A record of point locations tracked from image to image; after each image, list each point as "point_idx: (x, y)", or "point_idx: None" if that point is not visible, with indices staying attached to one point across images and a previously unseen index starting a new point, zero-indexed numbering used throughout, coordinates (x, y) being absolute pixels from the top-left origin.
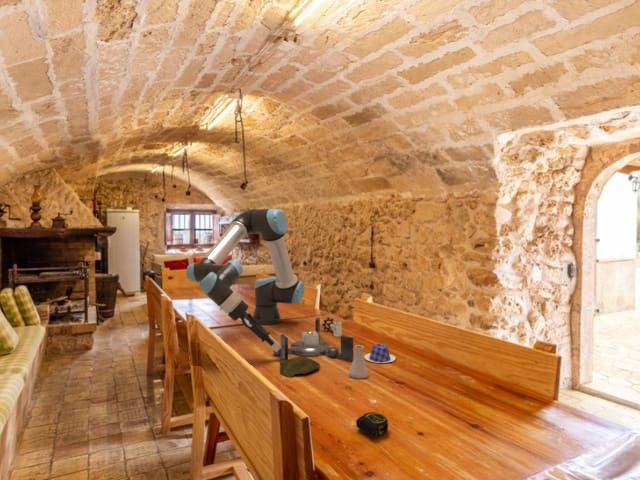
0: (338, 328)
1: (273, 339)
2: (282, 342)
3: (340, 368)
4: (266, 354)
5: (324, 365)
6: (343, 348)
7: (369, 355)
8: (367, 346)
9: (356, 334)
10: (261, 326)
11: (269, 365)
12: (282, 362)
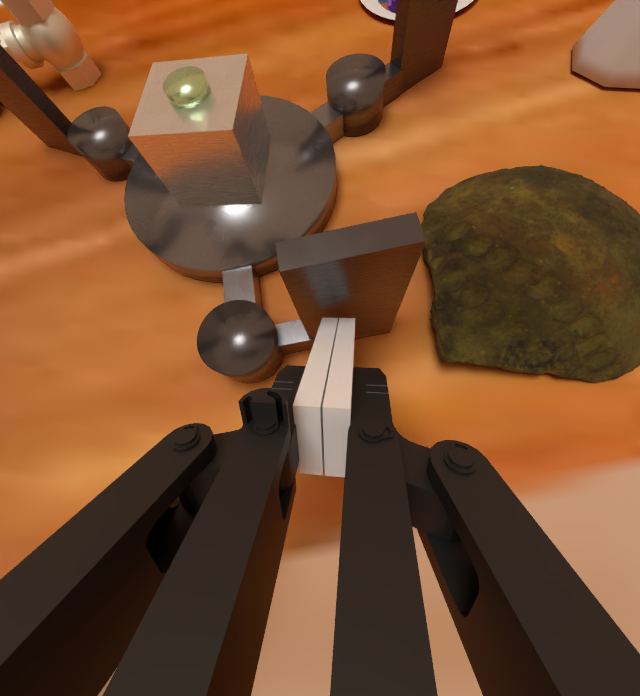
0: (65, 25)
1: (342, 364)
2: (344, 292)
3: (524, 109)
4: (221, 425)
5: (475, 161)
6: (420, 17)
7: (379, 9)
8: (266, 7)
9: (107, 23)
10: (83, 551)
11: (435, 431)
12: (489, 348)
